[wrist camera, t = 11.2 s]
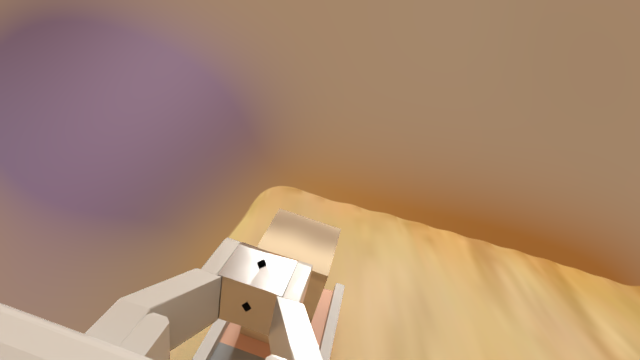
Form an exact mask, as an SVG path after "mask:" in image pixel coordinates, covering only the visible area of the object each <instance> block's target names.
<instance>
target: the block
mask: <svg viewBox="0 0 640 360" xmlns="http://www.w3.org/2000/svg"><path fill="white" fill-rule="evenodd" d="M340 231H341V229H339V228H336V227H333V226H330V225H327V224H324V223H321V222H318V221H315V220H313V219H310V218H307V217H304V216H301V215H298V214H295V213H292V212H289V211H286V210H283V209H280V208H279V210H278V212H277V214H276V215H275V217H274V219H273V220H272V222H271V224H270V226H269V227H268V229H267V231H266V232H265V234H264V236H263V238H262V239H261V241H260V243H259V244H258V246H257V248H260V249H263V250H266V251H269V252H272V253H275V254H279V255H282V256H285V257H288V258H291V259H295V260H298V261H302V262H305V263H308V264H311V265H313V269H312V272H311V276H310V280H309V283H308V287H307V291H306V294H305V298H304V301H303V304H304V305H305V308H306V311H307V314H308V317H309V320H310V323H311V322H312V319H313V316H314V314H315V311H316V308H317V305H318V303H319V300H320V297H321V294H322V292H323V289H324V286H325V283H326V281H327V278H328V275H329V271H330V267H331V264H332V260H333V256H334V253H335V249H336V245H337V242H338V238H339V234H340ZM240 334H243V335H245V336H248V337H251V338H254V339H256V340H259V341H262V342H265V343H267V344H269V338H268V337H269V336H267V335H264V334H262V333H259V332H257V331H254V330H251V329H249V328H246V327H243V326H241V329H240Z"/></svg>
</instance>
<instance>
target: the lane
mask: <svg viewBox="0 0 640 360" xmlns="http://www.w3.org/2000/svg"><path fill="white" fill-rule="evenodd" d="M344 287H345V286H344V285H341V284H338V283H336V285H335V287H334V290H333V291H330V290H328V289H325V288H324V289H323V292H322V294H321V297H320V300H319V303H318V305H317V308H316V311H315V314H314V316H313V319H312V322H311V326H312V329H313V332H314V335H315V338H316V341H317V344H318V347H319V350H320V353H321V356H322V359H323V360H330V355H331V350H332V345H333V340H334V335H335V331H336V326H337V321H338V316H339V311H340V306H341V302H342V297H343V292H344ZM240 329H241V326H240V325H237V324H234V323H231V322H228V321H225V320H221V319H218V320H217V321H215V322H214V323H213V324H212V326H211V328H210V330H209V331H208V333H207V335H206V336H205V338H204V340H203V342H202V343H201V345H200V347H199V349H198V350H197V352H196V354H195V355H194V357H193V359H192V360H265V359H266V357H268V356H270V355H271V351H270V345H269V344H267V343H265V342H262V341H259V340H256V339H254V338H251V337H248V336H245V335H243V334H240Z"/></svg>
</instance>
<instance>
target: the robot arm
mask: <svg viewBox="0 0 640 360" xmlns="http://www.w3.org/2000/svg"><path fill="white" fill-rule="evenodd" d="M312 269H313V265H311V264H308V263H305V262H302V261H298V260H295V259H291V258H288V257H285V256H282V255H279V254H275V253H272V252H269V251H266V250H263V249H260V248H257V247H254V246H252V245H249V244H246V243H243V242H239V241H236V240H233V239H231V238H226V239H225V240H223V242H222V243H221V244H220V246H219V247H218V248H217V249H216V251H215V252H214V253H213V254H212V256H211V257H210V258H209V259H208V261H207V262H206V263H205V264H204V266H203V267H202V268H201V269H197V268H195V269H193V270H190V271H188V272H185V273H183V274H180V275H178V276H175V277H173V278H170V279H168V280H165V281H163V282H160V283H158V284H155V285H153V286H150V287H148V288H145V289H143V290H140V291H138V292H135V293H133V294H130V295H128V296H125V297H123V298H120V299H119V300H118V301H117V302H116V303H115V304H114V305H113V306H112V307H111V308H110V309H109V310H108V311H107V312H106V313H105V314H104V315H103V316H102V317H101V318H100V319H99V320H98V321H97V322H96V323H95V324H94V325H93V326H92V327H91V328H90V329H89V330H88V331H87V332H86V333H85V334H83V333H80V332H77V331H75V330H72V329H69V328H67V327H64V326H61V325H58V324H55V323H53V322H50V321H48V320H45V319H42V318H40V317H37V316H34V315H31V314H28V313H26V312H23V311H21V310H18V309H15V308H12V307H10V306H7V305H4V304H2V303H0V360H170V351H171V350H173V349H174V348H176V347H177V346H179V345H180V344H182V343H183V342H185V341H186V340H188V339H189V338H191V337H193V336H194V335H196V334H197V333H199V332H200V331H202V330H203V329H205V328H206V327H208V326H209V325H211V324H212V323H214V322H215V321H217V320H218V319H221V320H225V321H228V322H231V323H234V324H237V325H240V326H243V327H246V328H249V329H251V330H254V331H257V332H259V333H262V334H264V335H267V336H269V337H268V338H269V345H270V351H271V355H270V356H268V357H266V359H265V360H323V359H322V356H321V353H320V350H319V347H318V344H317V341H316V338H315V335H314V332H313V329H312V326H311V323H310V320H309V317H308V314H307V311H306V308H305V305H304V304H303V301H304V298H305V294H306V291H307V287H308V283H309V280H310V276H311V272H312Z"/></svg>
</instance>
